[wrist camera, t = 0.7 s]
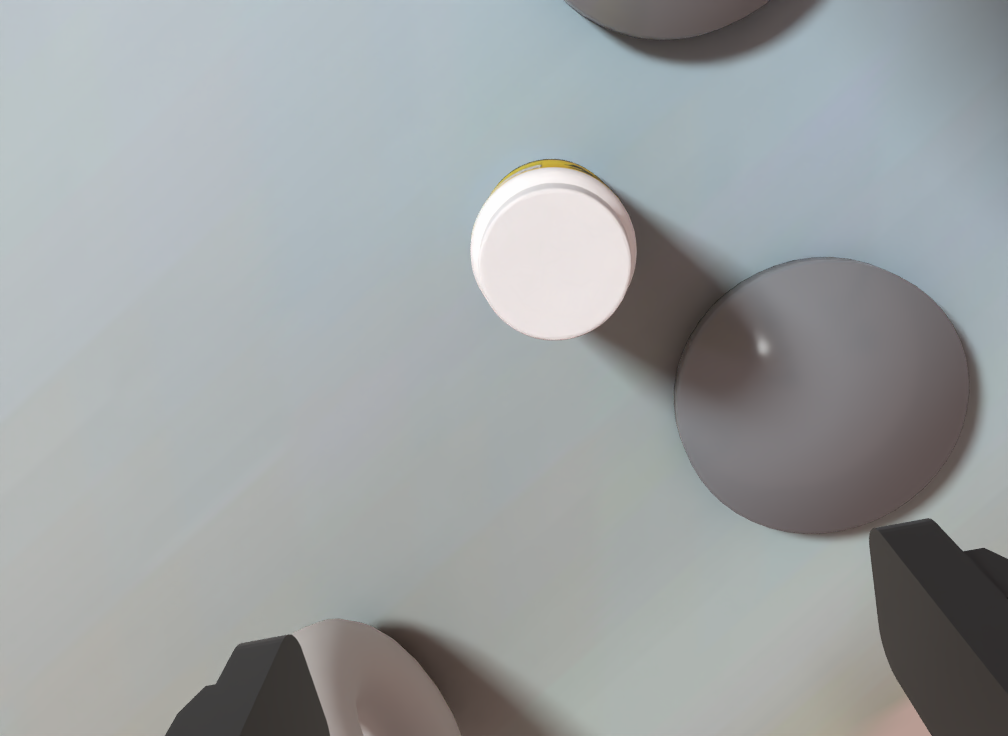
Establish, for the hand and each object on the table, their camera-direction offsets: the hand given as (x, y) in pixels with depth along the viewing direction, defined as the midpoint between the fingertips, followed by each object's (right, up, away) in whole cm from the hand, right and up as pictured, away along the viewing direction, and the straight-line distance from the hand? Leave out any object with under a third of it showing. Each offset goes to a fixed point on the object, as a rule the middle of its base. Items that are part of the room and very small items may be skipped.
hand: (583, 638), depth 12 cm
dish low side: (+10, +3, +20) cm, 22 cm away
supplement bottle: (+1, +9, +19) cm, 20 cm away
